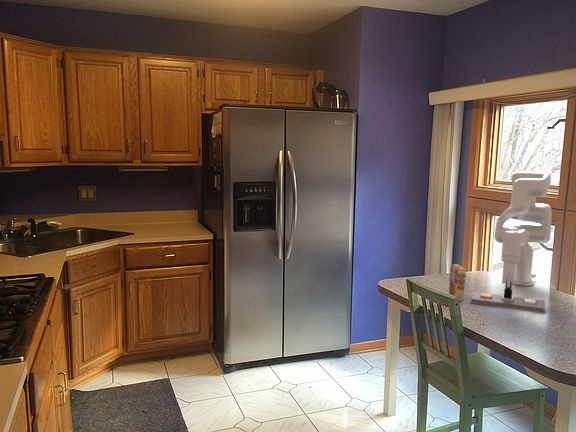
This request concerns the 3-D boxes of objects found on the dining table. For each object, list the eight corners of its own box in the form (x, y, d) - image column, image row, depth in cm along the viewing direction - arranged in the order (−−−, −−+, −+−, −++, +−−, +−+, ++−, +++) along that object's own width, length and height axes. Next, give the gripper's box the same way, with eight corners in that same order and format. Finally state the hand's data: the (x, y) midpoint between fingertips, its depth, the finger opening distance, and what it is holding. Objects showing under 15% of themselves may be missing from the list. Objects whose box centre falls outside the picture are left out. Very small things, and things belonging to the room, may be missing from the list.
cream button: (524, 303, 216) (524, 298, 216) (535, 304, 214) (535, 299, 214) (524, 305, 212) (524, 301, 212) (535, 307, 210) (535, 302, 210)
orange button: (481, 297, 224) (481, 292, 224) (491, 298, 222) (491, 294, 222) (480, 300, 220) (480, 295, 220) (491, 301, 218) (491, 296, 218)
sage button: (502, 300, 220) (502, 295, 220) (512, 301, 218) (513, 296, 218) (502, 302, 216) (502, 298, 216) (512, 304, 214) (513, 299, 214)
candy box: (464, 300, 221) (466, 268, 219) (455, 300, 221) (457, 268, 219) (457, 294, 230) (458, 264, 228) (448, 295, 230) (450, 264, 228)
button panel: (473, 295, 229) (473, 291, 229) (544, 304, 216) (544, 300, 216) (470, 302, 218) (471, 298, 218) (545, 313, 205) (545, 308, 205)
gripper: (502, 254, 222) (499, 292, 225) (500, 260, 209) (497, 301, 212) (520, 255, 219) (517, 294, 222) (519, 262, 206) (516, 303, 208)
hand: (507, 297), depth 217 cm, fingers closed
